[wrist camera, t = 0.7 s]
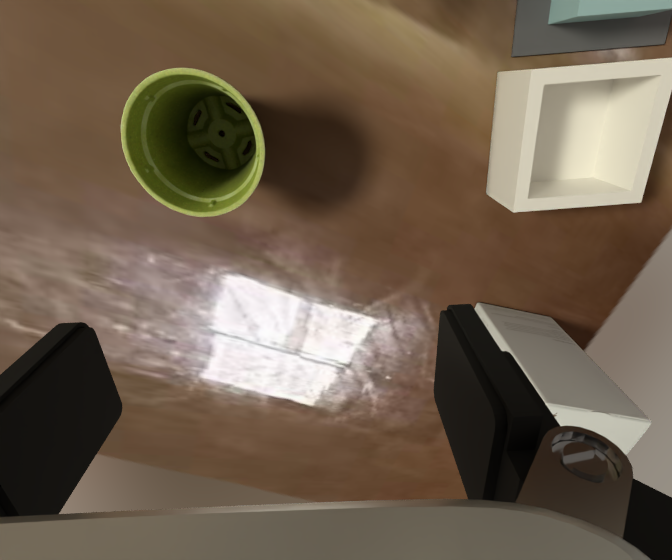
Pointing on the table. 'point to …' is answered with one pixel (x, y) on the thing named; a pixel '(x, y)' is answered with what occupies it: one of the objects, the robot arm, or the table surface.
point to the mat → (582, 31)
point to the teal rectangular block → (603, 9)
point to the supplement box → (565, 375)
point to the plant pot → (192, 142)
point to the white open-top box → (576, 134)
